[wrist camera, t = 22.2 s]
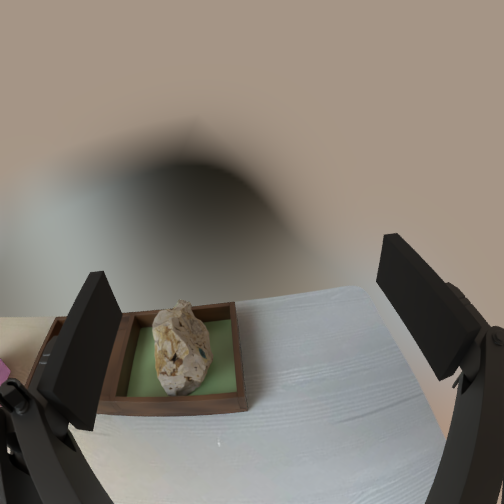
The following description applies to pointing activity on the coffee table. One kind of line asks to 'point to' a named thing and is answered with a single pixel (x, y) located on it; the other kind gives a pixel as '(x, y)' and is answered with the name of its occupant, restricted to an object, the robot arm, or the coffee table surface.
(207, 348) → the rock
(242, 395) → the divided wooden tray
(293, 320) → the coffee table surface
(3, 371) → the teapot
